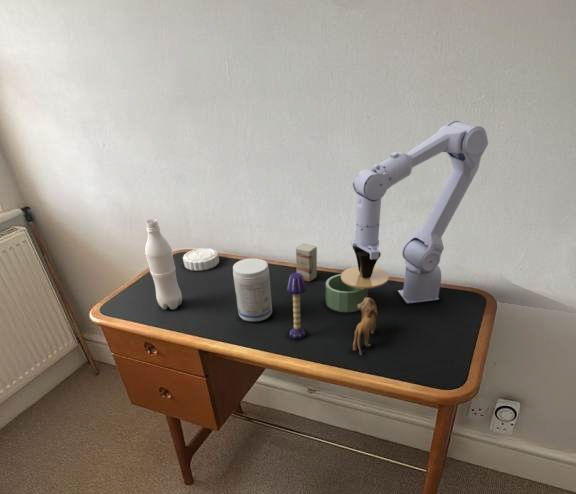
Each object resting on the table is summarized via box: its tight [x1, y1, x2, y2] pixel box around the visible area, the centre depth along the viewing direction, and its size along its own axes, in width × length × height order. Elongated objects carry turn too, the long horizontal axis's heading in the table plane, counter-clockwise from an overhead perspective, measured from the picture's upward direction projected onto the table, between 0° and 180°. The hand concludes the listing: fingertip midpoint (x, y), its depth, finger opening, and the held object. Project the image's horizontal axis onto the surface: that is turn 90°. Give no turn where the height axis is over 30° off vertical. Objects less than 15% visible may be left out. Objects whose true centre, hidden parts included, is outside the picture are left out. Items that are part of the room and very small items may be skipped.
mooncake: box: [182, 247, 220, 272], centre depth 158 cm, size 12×12×4 cm
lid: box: [340, 263, 390, 289], centre depth 121 cm, size 13×13×5 cm
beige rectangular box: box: [295, 243, 318, 283], centre depth 143 cm, size 5×4×10 cm
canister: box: [325, 273, 369, 313], centre depth 130 cm, size 12×12×6 cm
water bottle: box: [144, 218, 183, 310], centre depth 129 cm, size 7×7×25 cm
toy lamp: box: [286, 272, 307, 340], centre depth 115 cm, size 5×5×17 cm
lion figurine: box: [352, 296, 379, 356], centre depth 114 cm, size 15×5×9 cm, turn 168°
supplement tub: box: [232, 257, 273, 323], centre depth 125 cm, size 10×10×15 cm
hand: (364, 274), depth 122 cm, fingers closed on lid, 2 cm apart
